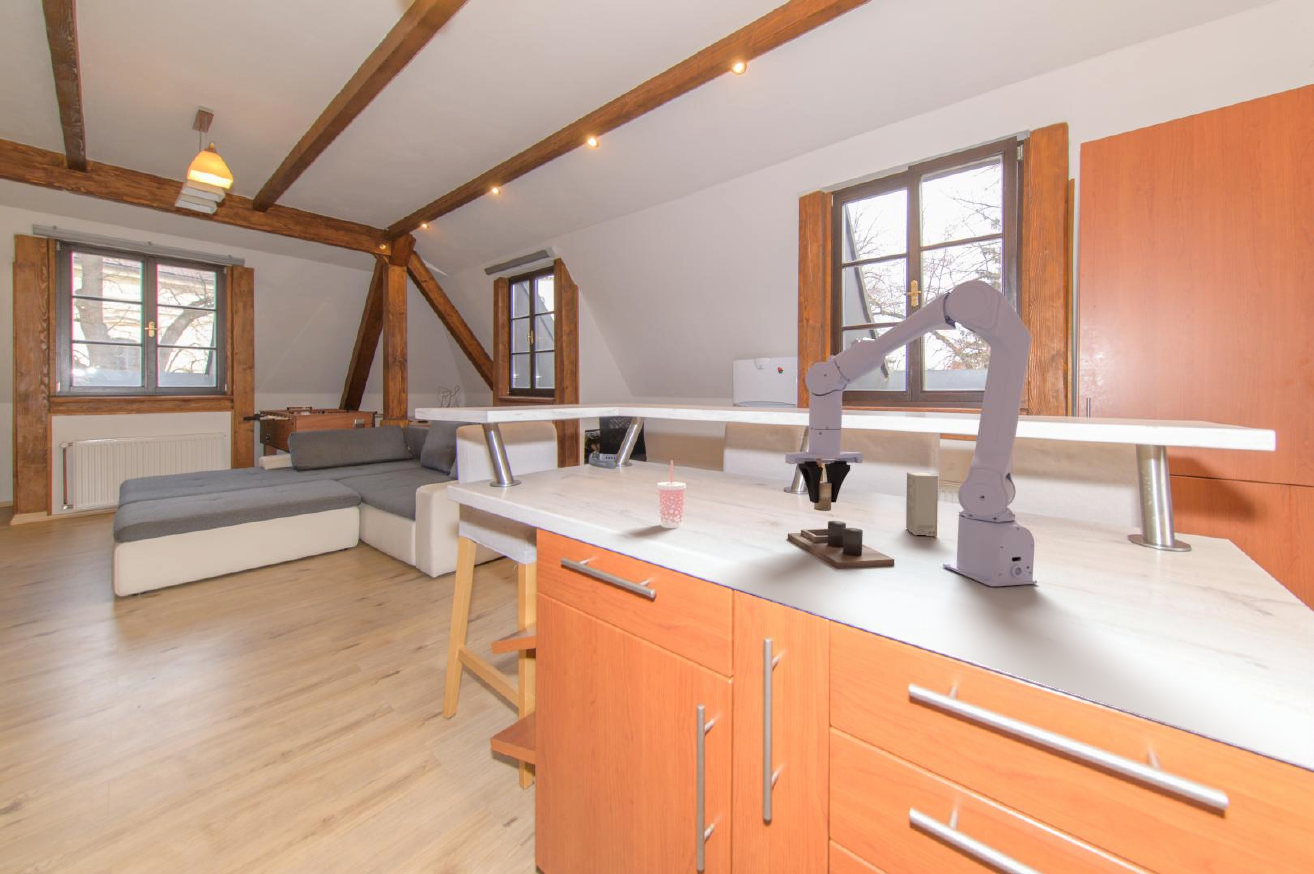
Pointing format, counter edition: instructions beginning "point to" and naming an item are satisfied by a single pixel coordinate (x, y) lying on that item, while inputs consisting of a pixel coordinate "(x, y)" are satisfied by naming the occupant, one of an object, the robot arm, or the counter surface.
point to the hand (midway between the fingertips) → (822, 501)
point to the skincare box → (922, 503)
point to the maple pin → (824, 497)
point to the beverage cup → (671, 502)
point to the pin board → (839, 556)
